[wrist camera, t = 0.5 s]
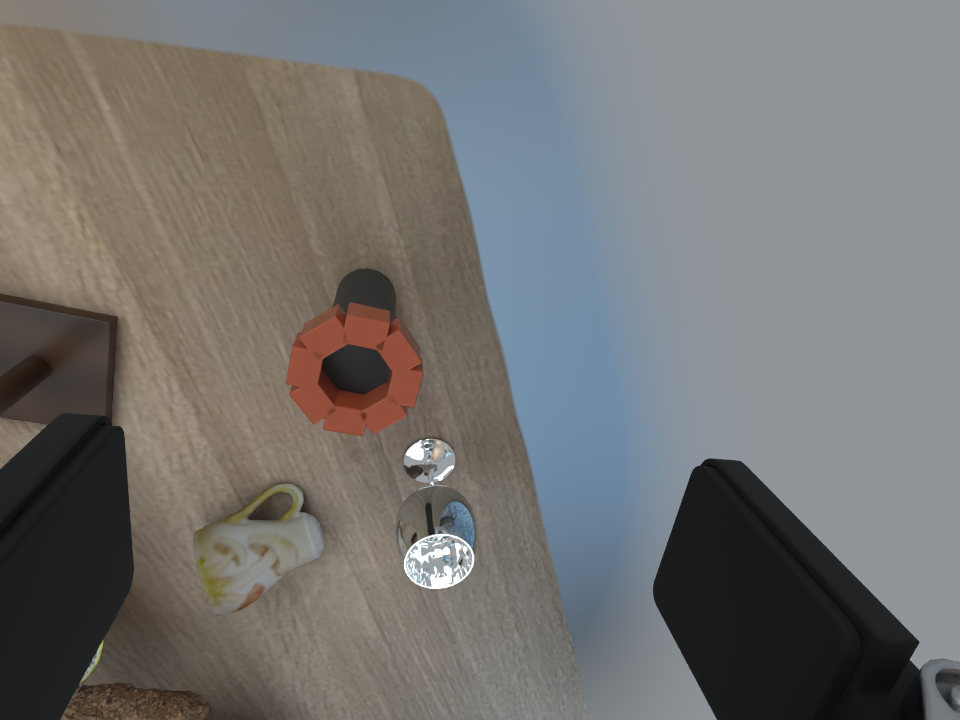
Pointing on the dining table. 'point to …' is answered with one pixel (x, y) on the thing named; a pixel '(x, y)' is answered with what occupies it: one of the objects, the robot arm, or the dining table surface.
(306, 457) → the dining table surface
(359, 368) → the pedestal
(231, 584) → the mug
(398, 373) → the ring
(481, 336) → the dining table surface
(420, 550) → the wineglass
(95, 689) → the rock
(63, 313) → the post
